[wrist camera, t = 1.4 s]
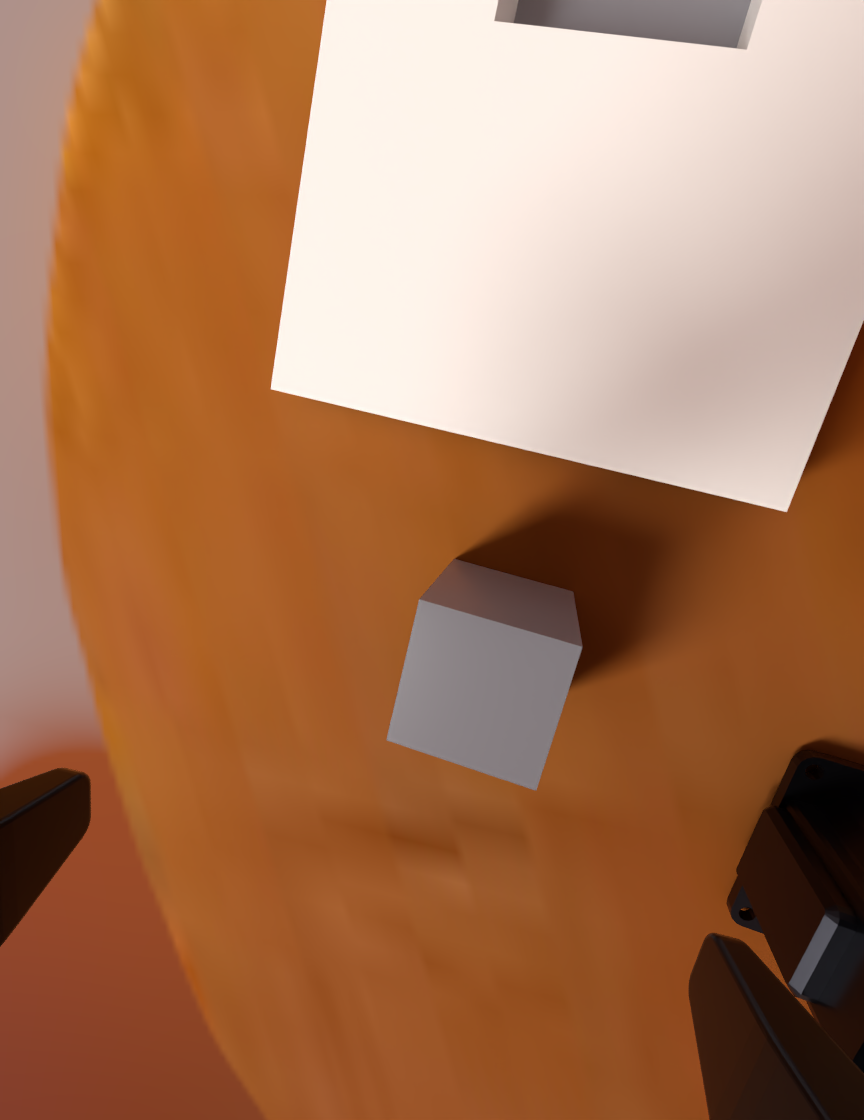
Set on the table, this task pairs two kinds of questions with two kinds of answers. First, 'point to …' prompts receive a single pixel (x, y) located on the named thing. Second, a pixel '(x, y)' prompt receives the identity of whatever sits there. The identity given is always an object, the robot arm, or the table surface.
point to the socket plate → (586, 228)
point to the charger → (487, 672)
